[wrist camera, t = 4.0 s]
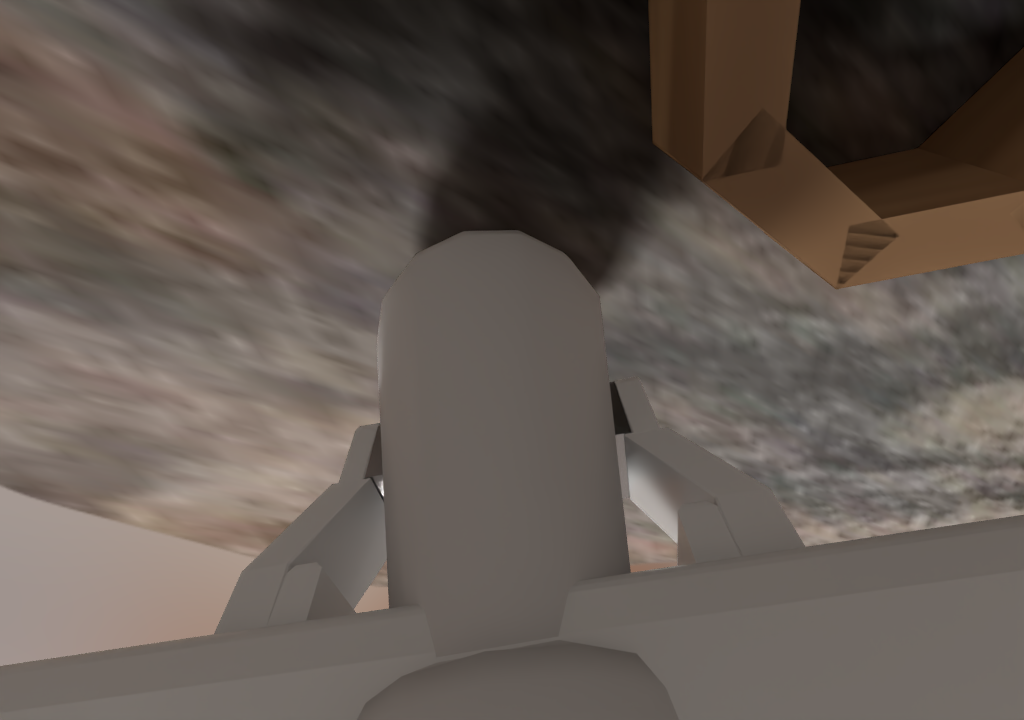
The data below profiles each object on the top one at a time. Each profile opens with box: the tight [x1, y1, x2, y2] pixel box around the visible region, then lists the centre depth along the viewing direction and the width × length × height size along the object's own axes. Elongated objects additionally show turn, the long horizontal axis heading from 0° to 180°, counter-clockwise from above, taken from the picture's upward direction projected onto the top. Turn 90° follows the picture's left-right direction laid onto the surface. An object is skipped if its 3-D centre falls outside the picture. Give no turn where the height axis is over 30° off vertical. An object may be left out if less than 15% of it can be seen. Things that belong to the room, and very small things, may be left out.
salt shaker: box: [357, 230, 679, 720], centre depth 9 cm, size 6×6×13 cm
